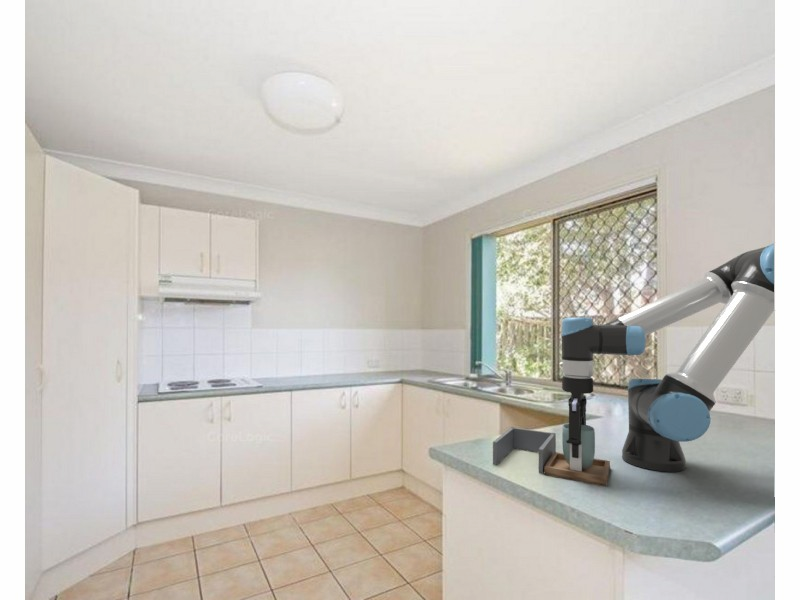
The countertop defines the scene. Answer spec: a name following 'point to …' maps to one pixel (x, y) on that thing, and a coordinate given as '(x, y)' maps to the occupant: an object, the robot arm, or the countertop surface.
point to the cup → (586, 442)
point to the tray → (588, 475)
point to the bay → (525, 444)
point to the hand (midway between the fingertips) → (578, 464)
